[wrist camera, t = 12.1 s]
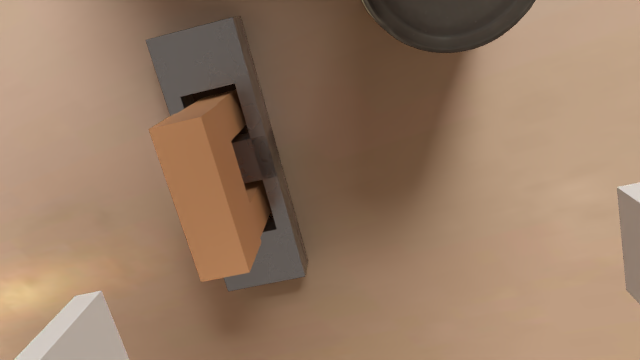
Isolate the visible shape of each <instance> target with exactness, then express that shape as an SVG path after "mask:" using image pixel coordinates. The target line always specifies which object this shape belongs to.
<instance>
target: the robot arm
mask: <svg viewBox="0 0 640 360" xmlns="http://www.w3.org/2000/svg"><path fill="white" fill-rule="evenodd" d="M617 194H618V205H619V216H620V227H621V238H622V249H623V260H624V271H625V281H626V290H627V291H628V292H629V293H630V294H631V295H632V296H633V297H634V299H635V300H636V301H637V302H638V303H639V304H640V183H635V184H630V185H625V186H620V187H617ZM14 360H129V357H128V355H127V352H126V350H125V348H124V345H123V343H122V340H121V338H120V335H119V333H118V330H117V328H116V325H115V323H114V320H113V318H112V315H111V313H110V310H109V308H108V305H107V303H106V301H105V298H104V296H103V293H102V291H97V292H92V293H87V294H82V295H77V296H74V298H73V299H72V300H71V301H70V302H69V303H68V304H67V305H66V306H65V307H64V308H63V309H62V310H61V311H60V312H59V313H58V314H57V315H56V316H55V317H54V318H53V319H52V320H51V321H50V323H49V324H48V325H47V326H46V327H45V328H44V329H43V330H42V331H41V332H40V333H39V334H38V335H37V336H36V337H35V338H34V339H33V340H32V341H31V342H30V343H29V344H28V345H27V346H26V348H25V349H24V350H23V351H22V352H21V353H20V354H19V355H18V356H17V357H16V358H15V359H14Z"/></svg>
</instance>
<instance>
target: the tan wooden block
mask: <svg viewBox="0 0 640 360" xmlns="http://www.w3.org/2000/svg"><path fill="white" fill-rule="evenodd" d="M245 125H246V121H245V117H244V114H243V110H242V107H241V103H240V100H239V97H238V93H237V90H232V91H228V92H224V93H220V94H216V95H211V96H207V97H203V98H201V99H200V100H198V101H196V102H195V103H193V104H191V105H190V106H188V107H186V108H185V109H183V110H182V111H180V112H178V113H176V114H173V115H171V116H170V117H168V118H166V119H165V120H163V121H161V122H160V123H158V124H156V125H155V126H153V127H151V128H150V129H149V132H150V135H151V138H152V141H153V143H154V146H155V149H156V152H157V155H158V158H159V161H160V164H161V167H162V170H163V173H164V176H165V178H166V181H167V184H168V187H169V190H170V193H171V196H172V199H173V202H174V205H175V208H176V210H177V213H178V216H179V219H180V222H181V225H182V228H183V231H184V234H185V237H186V240H187V243H188V245H189V248H190V251H191V254H192V257H193V260H194V263H195V266H196V269H197V272H198V275H199V278H200V280H201V282H204V281H209V280H214V279H219V278H224V277H229V276H235V275H240V274H245V273H250V270H251V268H252V265H253V263H254V260H255V257H256V255H257V252H258V250H259V247H260V245H261V239H260V237H261V235H262V233H263V230H264V228H265V225H266V223H267V220H268V218H269V215H270V213H271V207H270V204H269V200H268V197H267V193H266V190H265V186H264V183H263V180H258V181H254V182H249V183H244V182H243V179H242V176H241V172H240V169H239V166H238V162H237V159H236V156H235V152H234V149H233V146H232V142H231V141H232V139H233V138H234V137H235V136H236V135H237V134H238V133H239V132H240V131H241V130H242V128H243V127H244V126H245Z"/></svg>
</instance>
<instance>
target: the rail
mask: <svg viewBox="0 0 640 360" xmlns="http://www.w3.org/2000/svg"><path fill="white" fill-rule="evenodd" d="M146 43H147V46H148V49H149V52H150V55H151V58H152V61H153V64H154V67H155V70H156V73H157V76H158V80H159V83H160V86H161V89H162V92H163V95H164V98H165V101H166V104H167V107H168V110H169V113H170V116H171V115H173V114H176V113H178V112H180V111H182V110H183V109H185V108H186V107H188V106H190V105H191V104H193V103H195V102H194V99H193V95H192V94H194V93H198V92H202V91H206V90H210V89H214V88H218V87H222V86H226V85H230V84H235V86H236V90H237V93H238V97H239V100H240V103H241V107H242V110H243V114H244V117H245V121H246V124H247V128H248V131H249V133H244V134H240V135H236V136H235V137H234V138H233V139H232V141H231V142H232V146H233V149H234V152H235V156H236V159H237V162H238V166H239V169H240V172H241V176H242V179H243V182H244V183H249V182H254V181H258V180H263V183H264V186H265V190H266V193H267V197H268V200H269V204H270V207H271V211H272V214H273V218H271V219H268V220H267V223H266V225H265V228H264V230H263V233H262V235H261V237H260V239H261V245H260V247H259V250H258V252H257V255H256V257H255V260H254V263H253V265H252V268H251V270H250V273H245V274H240V275H235V276H229V277H224V280H225V283H226V286H227V289H228V291H233V290H238V289H243V288H248V287H253V286H258V285H264V284H269V283H274V282H279V281H284V280H289V279H294V278H300V277H305V275H306V270H307V264H308V259H307V255H306V252H305V248H304V244H303V241H302V237H301V233H300V230H299V226H298V223H297V219H296V215H295V212H294V208H293V204H292V201H291V197H290V194H289V190H288V186H287V183H286V179H285V176H284V172H283V168H282V165H281V161H280V157H279V154H278V150H277V147H276V143H275V139H274V136H273V132H272V128H271V125H270V121H269V118H268V114H267V110H266V107H265V103H264V100H263V96H262V92H261V89H260V85H259V81H258V78H257V74H256V71H255V67H254V63H253V60H252V56H251V52H250V49H249V45H248V42H247V38H246V34H245V31H244V27H243V23H242V20H241V16H240V17H232V18H228V19H224V20H220V21H216V22H212V23H209V24H205V25H201V26H197V27H193V28H190V29H186V30H182V31H178V32H174V33H170V34H167V35H163V36H159V37H155V38H151V39H148V40H146Z"/></svg>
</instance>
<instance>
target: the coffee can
mask: <svg viewBox="0 0 640 360" xmlns="http://www.w3.org/2000/svg"><path fill="white" fill-rule="evenodd" d="M362 2H363V4H364V6H365V8H366V10H367V12H368V13H369V14H370V15H371V16H372V17H373V19H374V20H375V21H376V22H377V23H378V24H379V25H380V26H381V27H382V28H383V29H384V30H386V31H387V32H388V33H389V34H390V35H392V36H393V37H394V38H396V39H397V40H399V41H401V42H402V43H404V44H406V45H409V46H411V47H414V48H417V49H420V50H424V51H429V52H436V53H455V52H462V51H467V50H472V49H475V48H478V47H480V46H483V45H485V44H488V43H490V42H492V41H493V40H495V39H497V38H499V37H500V36H502V35H503V34H504V33H506V32H507V31H508V30H510V29H511V28H512V27H513V26H514V25H515V24H516V23H517V22H518V21H519V20H520V19H521V18H522V17H523V16H524V15H525V14H526V13H527V12H528V10H529V9H530V8H531V7H532V5H533V3H534V2H535V0H362Z"/></svg>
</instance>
